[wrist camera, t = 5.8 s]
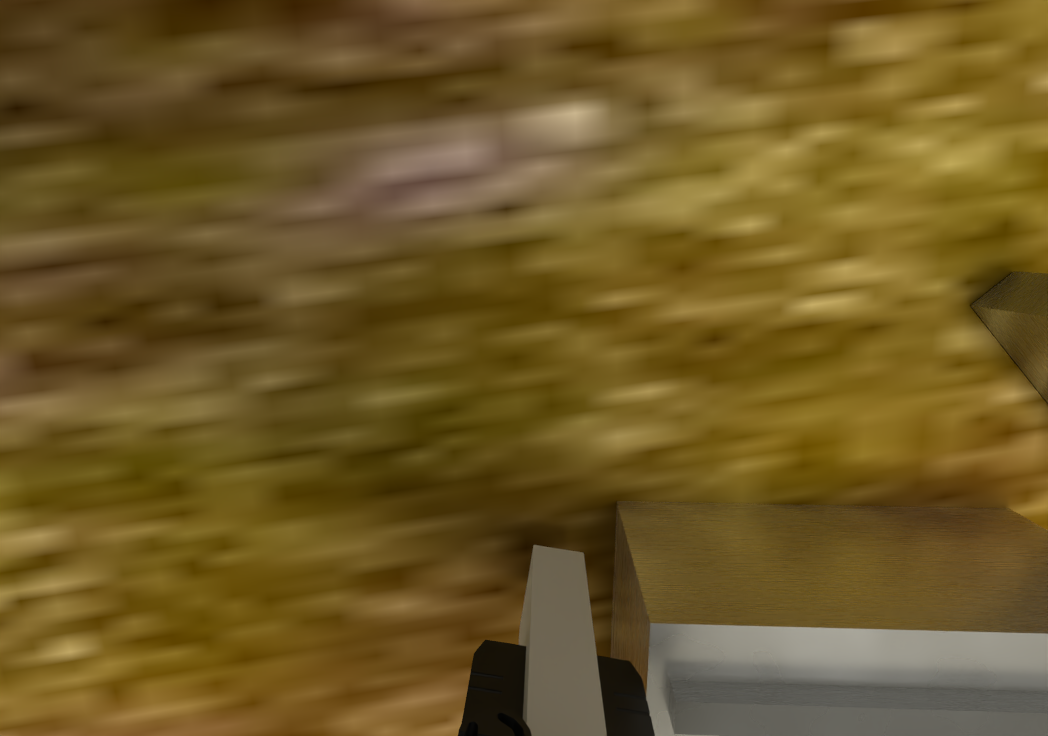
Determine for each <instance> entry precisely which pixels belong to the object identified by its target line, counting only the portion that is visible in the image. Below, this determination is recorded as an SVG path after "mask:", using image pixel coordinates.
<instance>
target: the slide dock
mask: <svg viewBox="0 0 1048 736" xmlns="http://www.w3.org/2000/svg"><path fill="white" fill-rule="evenodd" d="M971 307H972V308H973V310H974V311H975V312H976V313H977V315H978V316H979V317H980V318H981V320H982V321H983V322H984V323H985V325H986V326H987V327H988V329H989V330H990V331H991V332H992V334H993V335H994V336H995V337H996V339H997V340H998V341H999V342H1000V344H1001V345H1002V346H1003V347H1004V349H1005V350H1006V351H1007V352H1008V354H1009V355H1010V356H1011V358H1012V359H1013V360H1014V361H1015V363H1016V364H1017V365H1018V366H1019V368H1020V369H1021V370H1022V371H1023V373H1024V374H1025V375H1026V376H1027V378H1028V379H1029V380H1030V382H1031V383H1032V384H1033V385H1034V387H1035V388H1036V389H1037V390H1038V392H1039V393H1040V394H1041V395H1042V397H1043V398H1044V399H1045V400H1046V402H1047V403H1048V274H1046V273H1029V272H1013V273H1011V274H1010V275H1009V276H1007V277H1006V278H1005V279H1004V280H1002V281H1001V282H1000V283H999V284H997V285H996V286H995V287H993V288H992V289H991V290H990V291H988V292H987V293H986V294H985V295H983V296H982V297H981V298H979V299H978V300H977V301H976V302H974V303H973V304H972V305H971Z"/></svg>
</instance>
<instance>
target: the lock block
mask: <svg viewBox="0 0 1048 736" xmlns="http://www.w3.org/2000/svg"><path fill="white" fill-rule="evenodd" d="M610 658H615V659H621V660H627V661H630V662H631V663H632V665H633V666H634V667H635V669H636V670H637V672H638V673H639V675H640V676H641V678H642V680H643V685H644V689H645V693H646V701H647V702H648V707H649V711H650V716H651V720H652V725H653V729H654V733H655V736H1048V530H1046V529H1044V528H1042V527H1041V526H1039V525H1037V524H1035V523H1034V522H1032V521H1030V520H1028V519H1027V518H1025V517H1023V516H1021V515H1020V514H1018V513H1016V512H1014V511H1013V510H1011V509H1006V508H953V507H900V506H848V505H795V504H743V503H690V502H637V501H617V505H616V530H615V555H614V580H613V605H612V629H611V654H610Z"/></svg>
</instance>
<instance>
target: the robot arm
mask: <svg viewBox="0 0 1048 736" xmlns="http://www.w3.org/2000/svg"><path fill="white" fill-rule="evenodd" d="M458 736H655V733H654V729H653V725H652V720H651V716H650V711H649V707H648V702H647V701H646V693H645V689H644V685H643V680H642V678H641V676H640V675H639V673H638V672H637V670H636V669H635V667H634V666H633V665H632V663H631V662H630V661H627V660H621V659H615V658H608V657H602V656H597V654H596V646H595V638H594V630H593V622H592V614H591V606H590V599H589V591H588V583H587V575H586V567H585V559H584V553H583V552H577V551H570V550H564V549H558V548H551V547H545V546H538V545H534V546H533V551H532V557H531V563H530V569H529V575H528V581H527V587H526V593H525V599H524V605H523V611H522V617H521V623H520V631H519V645H516V644H509V643H503V642H497V641H490V640H485V641H484V642H483V643H482V644H481V646H480V647H479V648H478V649H477V651H476V652H475V653H474V657H473V662H472V668H471V674H470V680H469V685H468V691H467V697H466V702H465V708H464V714H463V719H462V724H461V727H460V729H459V733H458Z"/></svg>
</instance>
